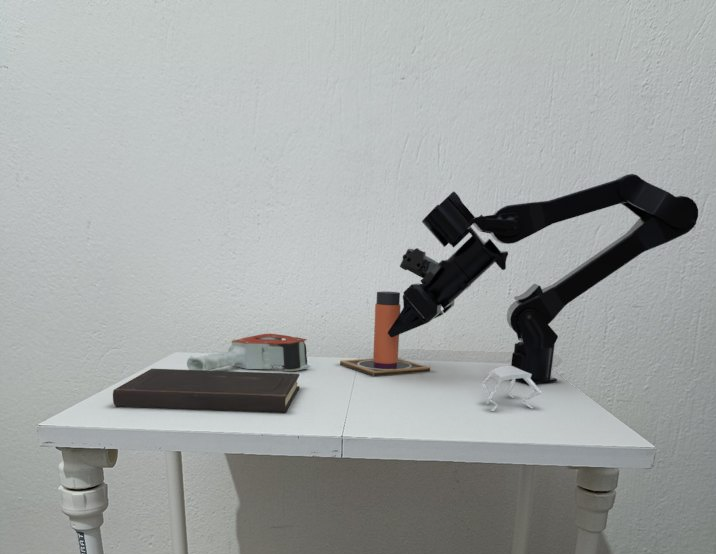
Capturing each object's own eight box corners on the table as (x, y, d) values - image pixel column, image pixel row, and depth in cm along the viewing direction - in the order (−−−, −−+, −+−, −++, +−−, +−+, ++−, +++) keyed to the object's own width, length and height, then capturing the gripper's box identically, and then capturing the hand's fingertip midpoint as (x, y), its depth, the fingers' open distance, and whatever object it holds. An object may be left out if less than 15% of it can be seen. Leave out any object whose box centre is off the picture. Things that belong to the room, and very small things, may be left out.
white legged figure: (543, 414, 91) (548, 379, 90) (482, 411, 92) (486, 376, 90) (530, 395, 103) (534, 364, 101) (475, 393, 103) (478, 361, 102)
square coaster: (394, 360, 129) (394, 356, 129) (430, 371, 119) (430, 367, 119) (340, 364, 123) (340, 360, 123) (373, 376, 114) (373, 371, 113)
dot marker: (399, 365, 121) (402, 292, 116) (395, 369, 117) (399, 293, 112) (375, 364, 122) (378, 290, 117) (371, 368, 118) (373, 292, 113)
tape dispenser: (186, 383, 111) (305, 379, 110) (181, 352, 109) (303, 347, 108) (209, 360, 127) (313, 357, 126) (205, 332, 125) (311, 328, 124)
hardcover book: (152, 383, 103) (151, 368, 103) (299, 388, 103) (299, 373, 102) (113, 407, 88) (111, 390, 87) (285, 413, 88) (285, 396, 87)
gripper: (440, 232, 118) (379, 293, 125) (419, 230, 101) (349, 301, 108) (481, 280, 119) (418, 338, 125) (467, 285, 102) (394, 353, 108)
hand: (395, 332), depth 117 cm, fingers open, 9 cm apart
